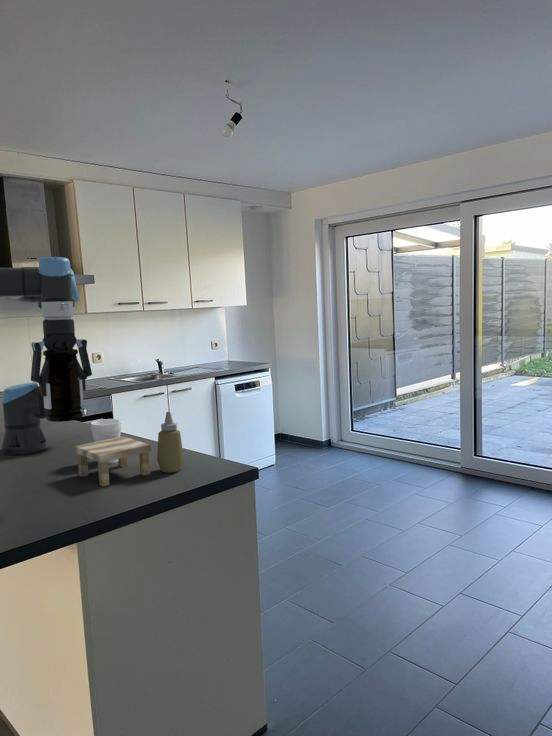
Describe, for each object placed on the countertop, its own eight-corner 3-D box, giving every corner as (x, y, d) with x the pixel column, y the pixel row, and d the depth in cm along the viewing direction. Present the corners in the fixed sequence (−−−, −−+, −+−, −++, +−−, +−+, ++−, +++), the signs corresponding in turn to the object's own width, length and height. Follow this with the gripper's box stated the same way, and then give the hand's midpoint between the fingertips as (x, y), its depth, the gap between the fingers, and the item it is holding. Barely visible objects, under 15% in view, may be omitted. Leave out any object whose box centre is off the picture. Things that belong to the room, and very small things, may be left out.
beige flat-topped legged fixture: (76, 475, 164) (74, 446, 163) (124, 463, 175) (123, 436, 174) (101, 487, 153) (100, 455, 152) (152, 474, 164) (150, 444, 163)
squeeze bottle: (189, 467, 170) (186, 410, 168) (176, 475, 162) (173, 415, 160) (166, 465, 173) (163, 409, 170) (152, 473, 165) (149, 414, 163)
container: (52, 415, 148) (47, 349, 146) (86, 414, 149) (82, 348, 147) (41, 422, 140) (36, 352, 137) (77, 421, 140) (73, 351, 138)
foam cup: (114, 466, 173) (112, 425, 172) (87, 464, 175) (85, 424, 174) (128, 457, 183) (126, 419, 181) (102, 456, 184) (100, 418, 183)
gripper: (22, 320, 131) (29, 414, 134) (102, 317, 146) (107, 402, 149) (10, 320, 137) (17, 410, 139) (89, 317, 151) (94, 398, 154)
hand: (64, 405), depth 144 cm, fingers closed on container, 8 cm apart
